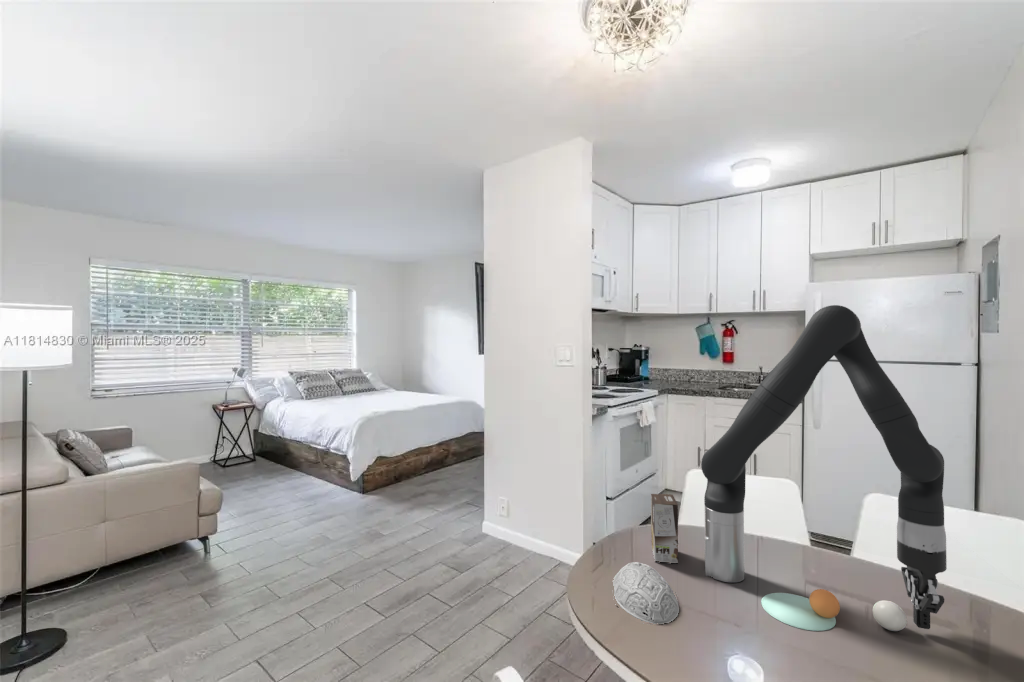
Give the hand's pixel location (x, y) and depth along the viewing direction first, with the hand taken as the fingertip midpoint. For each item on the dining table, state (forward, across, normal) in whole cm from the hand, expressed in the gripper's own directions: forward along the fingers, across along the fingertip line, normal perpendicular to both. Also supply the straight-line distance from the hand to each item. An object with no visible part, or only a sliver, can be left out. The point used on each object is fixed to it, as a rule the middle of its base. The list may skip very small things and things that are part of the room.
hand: (921, 626), depth 93 cm
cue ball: (-1, 0, -6) cm, 6 cm away
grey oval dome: (+2, +5, -54) cm, 55 cm away
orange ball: (-1, 0, -17) cm, 17 cm away
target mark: (+2, 0, -22) cm, 22 cm away
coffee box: (+2, -17, -51) cm, 54 cm away
